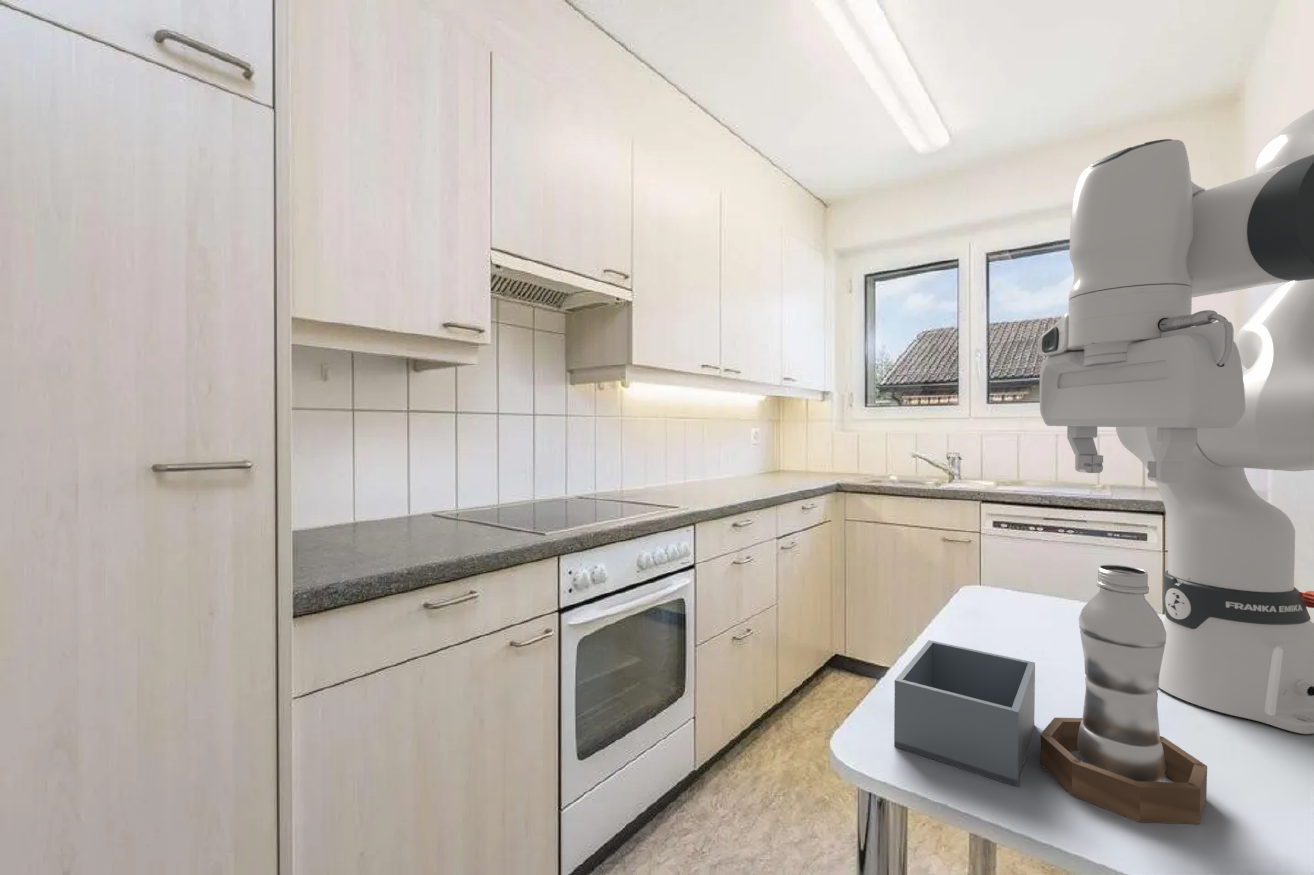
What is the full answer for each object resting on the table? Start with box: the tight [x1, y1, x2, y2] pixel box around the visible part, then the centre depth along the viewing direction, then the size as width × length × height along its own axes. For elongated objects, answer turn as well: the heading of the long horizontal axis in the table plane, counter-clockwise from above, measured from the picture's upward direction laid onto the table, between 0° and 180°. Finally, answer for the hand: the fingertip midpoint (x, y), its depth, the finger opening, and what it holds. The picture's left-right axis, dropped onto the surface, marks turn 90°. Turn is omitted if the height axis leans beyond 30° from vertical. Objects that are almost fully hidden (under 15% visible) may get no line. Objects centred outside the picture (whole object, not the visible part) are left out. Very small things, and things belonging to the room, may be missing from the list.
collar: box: [1039, 717, 1208, 825], centre depth 55 cm, size 12×12×3 cm
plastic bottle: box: [1077, 564, 1167, 782], centre depth 55 cm, size 6×7×20 cm
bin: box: [893, 639, 1036, 788], centre depth 63 cm, size 14×11×7 cm
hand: (1123, 477), depth 54 cm, fingers open, 8 cm apart
